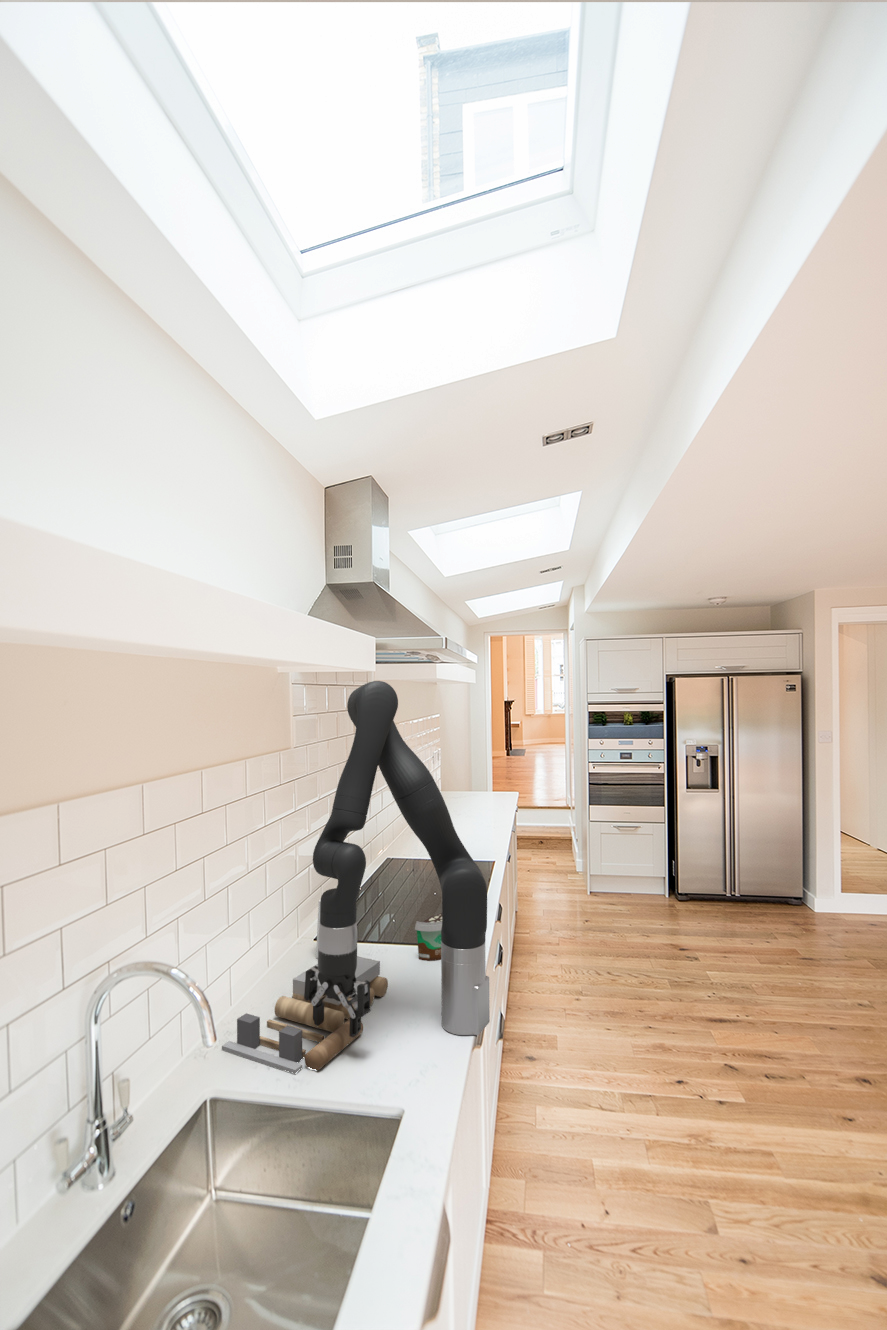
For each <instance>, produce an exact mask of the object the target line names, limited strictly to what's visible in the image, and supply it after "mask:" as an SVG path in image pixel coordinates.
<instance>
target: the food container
mask: <svg viewBox="0 0 887 1330" xmlns="http://www.w3.org/2000/svg"><path fill="white" fill-rule="evenodd" d="M415 922H416V923H415V925H414V930H415V931H416V937H417V938H416V939H417V951H418V960H420V961H427V962H436V961H441V928H442V912H441V913H439V914H437V915H433V916H429V917H428V918H427V919H425V920H424V921H417V920H416V921H415Z"/></svg>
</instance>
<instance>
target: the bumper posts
mask: <svg viewBox="0 0 887 1330" xmlns="http://www.w3.org/2000/svg"><path fill="white" fill-rule="evenodd" d="M260 1018H261V1016H258V1015H254V1014H250V1013H247V1012H246V1013H245V1014H243V1015H241V1016H240V1017H238V1018H237V1019H236V1042H234V1041H230V1040H228V1041H226V1042H225V1043H224V1044H223V1045H221V1051H224V1052H226V1053H230V1054H232V1055H235V1056H239V1057H242V1058H245V1059H248V1060H251V1061H253V1062H256V1063H258V1064H259V1063H260V1064H261V1065H265V1066H268V1065H269V1067H271V1066H272V1067H271V1068H274V1067H276V1068H275V1069H277V1068H279V1069H278V1070H280V1069H282V1070H281V1071H283V1070H286V1071H289V1072H293V1073H296V1072H297V1071H298V1070H299V1069H301V1068H302V1069H303V1064H302V1063H299V1062H301V1061H302V1060H303V1058H302V1049H303V1038H302V1029H303V1028H301V1029H298V1028H299V1027H297V1028H295V1027H296V1026H294V1027H291V1026H292V1025H291V1026H286V1027H285V1028H284V1029H282V1030H281V1031H279V1030H278V1042H279V1051H278V1055H275V1054H271V1053H268V1052H265V1051H262V1050H259V1049H257V1048H258V1047H259V1046H261V1045H260V1036H261V1031H260V1030H261V1027H260V1025H261V1022H260ZM301 1059H302V1060H301ZM300 1060H301V1061H300ZM297 1062H298V1063H297ZM286 1071H285V1072H286ZM289 1072H288V1073H289Z"/></svg>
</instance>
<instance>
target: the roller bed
mask: <svg viewBox="0 0 887 1330" xmlns="http://www.w3.org/2000/svg"><path fill="white" fill-rule="evenodd" d="M369 983H370V1007H372V1005H373V1003H374V1000H375V996H376V997H380V998H382V997H384V996H385V995H386V993H387V990H388V987H389V980H388V979H387V977H384V976H380V975H378V976H377V977H376V978H374V979H373V980H372V981H370V982H369ZM348 1000H351V996H350V997H349V998H348ZM322 1002H324V1001H322ZM352 1005H353V1004H352ZM353 1007H354V1005H353ZM354 1009H355V1007H354ZM274 1014H275V1016H276V1017H278V1018H282V1019H285V1020H289V1021H292V1022H296V1023H298V1024H301V1025H305V1026H309V1027H313V1028H316V1029H319V1030H323V1031H326V1032H329V1033H333V1032H334V1031H335V1030H336V1029H338V1028H339V1027H340V1026H341V1025H343V1024H344V1023H345V1019H346V1020H349V1019H350V1017H351V1016H350V1014H349V1012H348V1010H347V1008H344V1006H343V1004H342V1003H341V1004H340V1005H336V1004H332V1003H328V1002H324V1021H323V1023H321V1024H320V1025H318V1026H317V1025H315V1024H314V1021H313V1005H312V1004H311V1001H309V1000H308V1001H307V1000H305V998H304V996H302V995H298V994H294V993H293V992H292V996H291V997H288V996H285V995H282V996H280V997H278V999H277V1001H276V1003H275V1005H274ZM286 1026H291V1027H295V1028H298V1029H302V1039H305V1040H308V1041H312V1040H313V1041H312V1042H315V1041H317V1042H316V1043H319V1042H321V1041H323V1040H324V1039H325V1035H324V1034H320V1033H318V1032H315V1031H310V1030H307V1029H304V1028H300V1027H296V1026H294V1025H289V1024H287V1023H284V1022H280V1021H277V1020H272V1019H268V1020H267V1021H266V1027H267V1028H269V1029H272V1030H274V1031H275V1030H276V1031H278V1032H279V1031H281V1030H282V1029H284V1028H285V1027H286ZM260 1046H262V1047H266V1048H269V1049H273V1050H274V1051H275V1050H276V1051H277V1052H279V1040H274V1039H271V1038H268V1037H265V1036H262V1035H260ZM306 1053H307V1049H303V1048H302V1059H304V1058H305V1055H306ZM303 1057H304V1058H303Z"/></svg>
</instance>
